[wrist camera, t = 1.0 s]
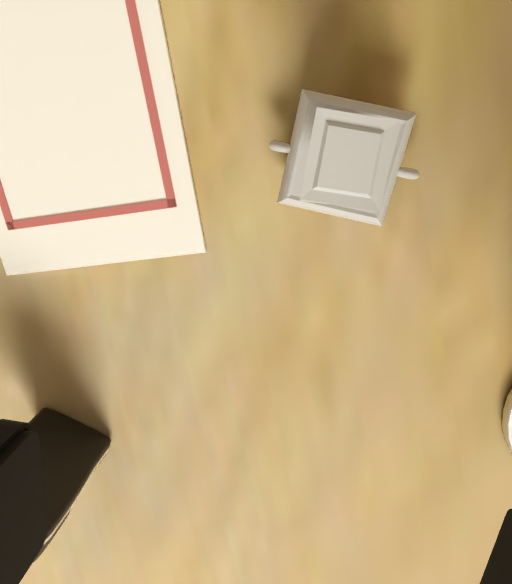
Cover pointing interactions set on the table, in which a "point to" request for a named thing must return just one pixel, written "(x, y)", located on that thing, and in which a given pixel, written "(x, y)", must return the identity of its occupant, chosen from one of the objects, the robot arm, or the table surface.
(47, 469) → the battery charger
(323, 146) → the stamp
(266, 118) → the table surface
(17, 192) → the paper sheet
